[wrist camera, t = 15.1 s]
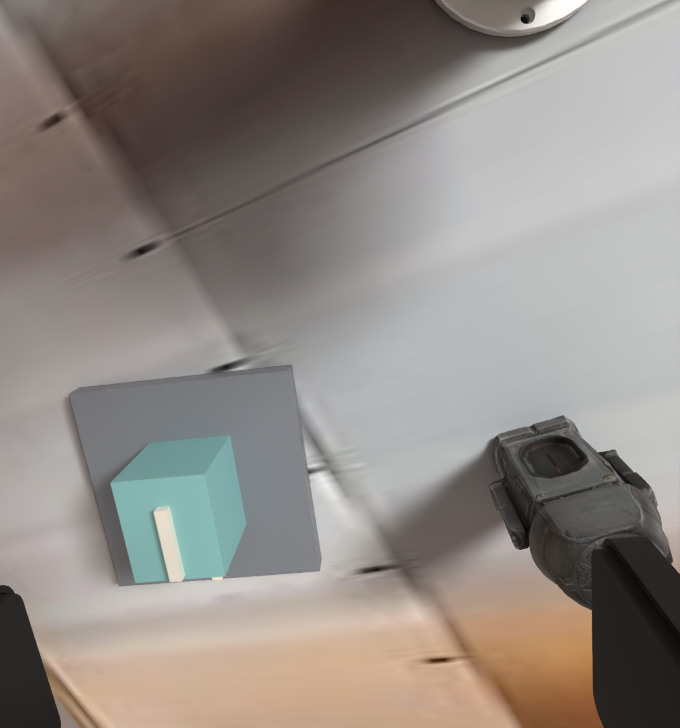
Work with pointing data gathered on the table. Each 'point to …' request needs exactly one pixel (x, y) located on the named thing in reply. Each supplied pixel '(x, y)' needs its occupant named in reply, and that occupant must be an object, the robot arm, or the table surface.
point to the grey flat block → (200, 420)
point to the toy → (569, 501)
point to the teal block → (180, 509)
